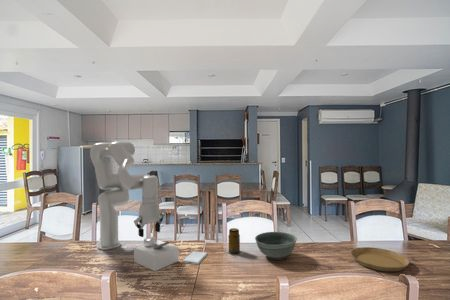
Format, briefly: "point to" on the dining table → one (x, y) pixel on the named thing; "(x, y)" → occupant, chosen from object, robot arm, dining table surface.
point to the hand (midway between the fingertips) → (149, 233)
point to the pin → (150, 242)
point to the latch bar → (160, 245)
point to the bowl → (276, 244)
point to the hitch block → (156, 256)
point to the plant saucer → (380, 259)
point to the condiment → (234, 242)
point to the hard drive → (195, 257)
